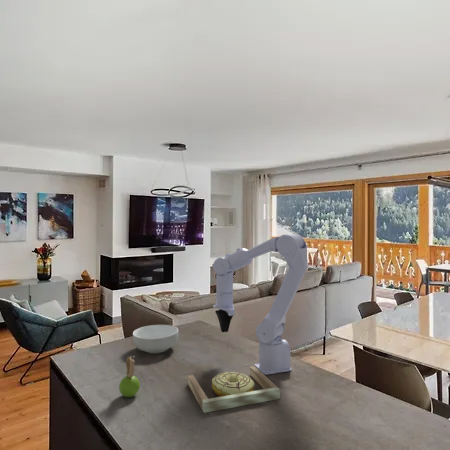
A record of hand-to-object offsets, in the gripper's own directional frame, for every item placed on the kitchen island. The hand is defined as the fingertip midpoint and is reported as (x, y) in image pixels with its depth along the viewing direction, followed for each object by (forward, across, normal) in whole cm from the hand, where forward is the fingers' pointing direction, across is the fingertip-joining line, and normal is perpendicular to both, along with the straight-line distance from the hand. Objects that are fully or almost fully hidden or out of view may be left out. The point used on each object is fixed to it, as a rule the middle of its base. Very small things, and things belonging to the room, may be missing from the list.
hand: (224, 331), depth 124 cm
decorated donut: (+10, +24, -6) cm, 26 cm away
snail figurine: (+10, +17, -33) cm, 38 cm away
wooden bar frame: (+9, +23, -6) cm, 26 cm away
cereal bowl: (+10, -17, -21) cm, 29 cm away
